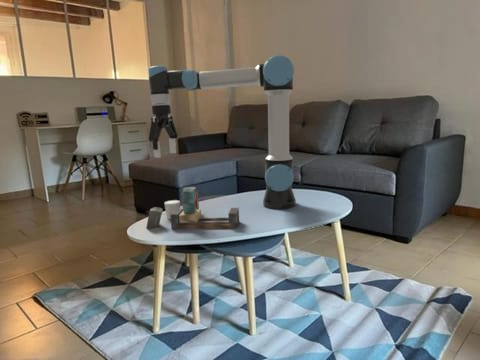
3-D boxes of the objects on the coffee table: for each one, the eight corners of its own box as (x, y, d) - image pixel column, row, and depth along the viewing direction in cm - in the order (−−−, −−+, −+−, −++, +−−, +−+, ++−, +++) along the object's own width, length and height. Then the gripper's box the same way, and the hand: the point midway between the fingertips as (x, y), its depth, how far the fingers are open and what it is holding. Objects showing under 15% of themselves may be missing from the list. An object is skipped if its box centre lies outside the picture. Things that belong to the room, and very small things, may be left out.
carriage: (201, 216, 149) (199, 187, 147) (197, 222, 141) (194, 192, 139) (185, 216, 150) (182, 188, 148) (179, 222, 142) (177, 192, 140)
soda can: (196, 216, 158) (194, 189, 156) (181, 216, 159) (178, 189, 157) (201, 212, 165) (199, 186, 162) (186, 211, 166) (184, 186, 164)
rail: (239, 221, 148) (238, 207, 146) (236, 228, 140) (236, 213, 139) (177, 222, 151) (176, 208, 150) (171, 229, 143) (170, 214, 142)
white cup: (174, 220, 154) (172, 204, 153) (162, 218, 158) (160, 203, 157) (184, 216, 160) (183, 200, 159) (173, 214, 164) (171, 199, 162)
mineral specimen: (146, 229, 142) (143, 209, 142) (146, 227, 150) (144, 208, 151) (165, 226, 144) (162, 206, 144) (164, 224, 152) (162, 205, 152)
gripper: (167, 105, 165) (171, 151, 169) (136, 105, 141) (142, 159, 146) (182, 104, 162) (186, 151, 166) (153, 104, 139) (158, 159, 143)
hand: (165, 155), depth 156 cm, fingers open, 13 cm apart
